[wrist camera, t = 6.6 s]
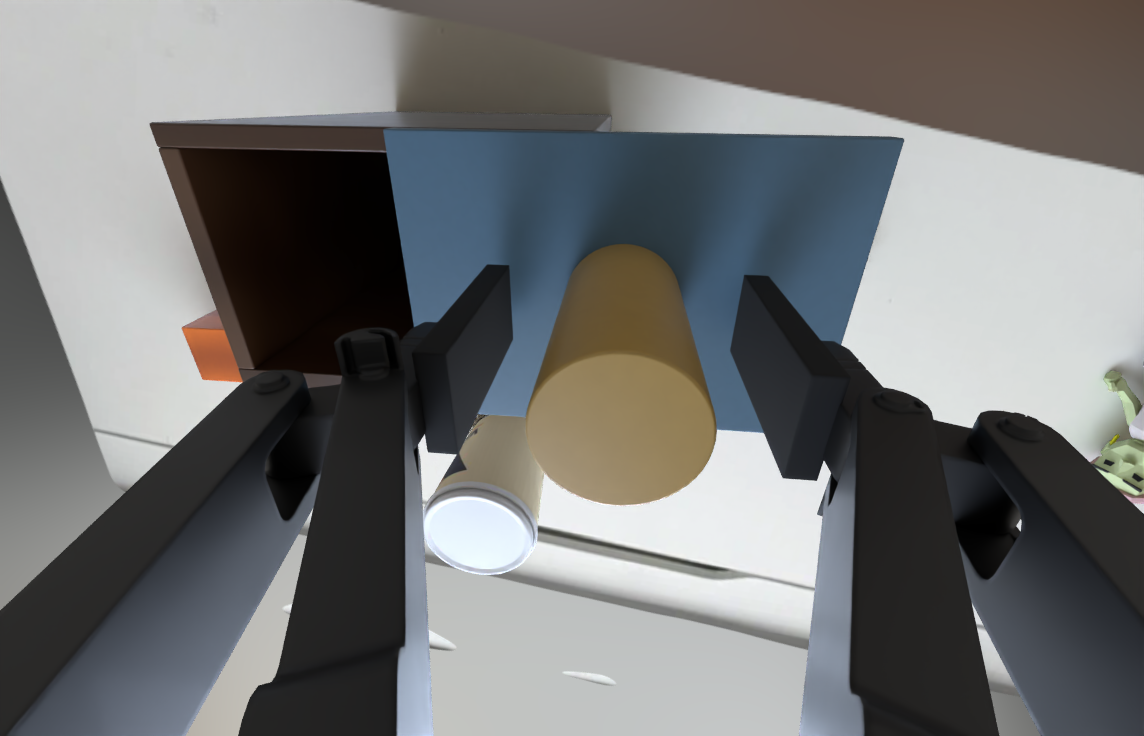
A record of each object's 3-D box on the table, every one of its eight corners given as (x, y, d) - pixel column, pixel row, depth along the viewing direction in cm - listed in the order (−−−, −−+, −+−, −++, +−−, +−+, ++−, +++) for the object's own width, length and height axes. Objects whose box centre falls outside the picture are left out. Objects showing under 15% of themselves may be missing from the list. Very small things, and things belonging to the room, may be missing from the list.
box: (395, 111, 35) (147, 122, 17) (611, 114, 34) (595, 130, 16) (416, 256, 40) (243, 384, 22) (605, 264, 39) (586, 406, 21)
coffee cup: (468, 394, 46) (421, 480, 36) (563, 417, 46) (545, 508, 36) (458, 467, 51) (414, 563, 40) (545, 488, 51) (524, 588, 41)
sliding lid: (392, 127, 16) (174, 151, 8) (892, 136, 15) (1184, 175, 7) (433, 400, 21) (322, 573, 13) (806, 424, 20) (921, 630, 12)
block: (224, 305, 44) (180, 327, 40) (276, 307, 44) (238, 330, 39) (242, 354, 47) (202, 380, 42) (291, 356, 46) (256, 383, 42)
